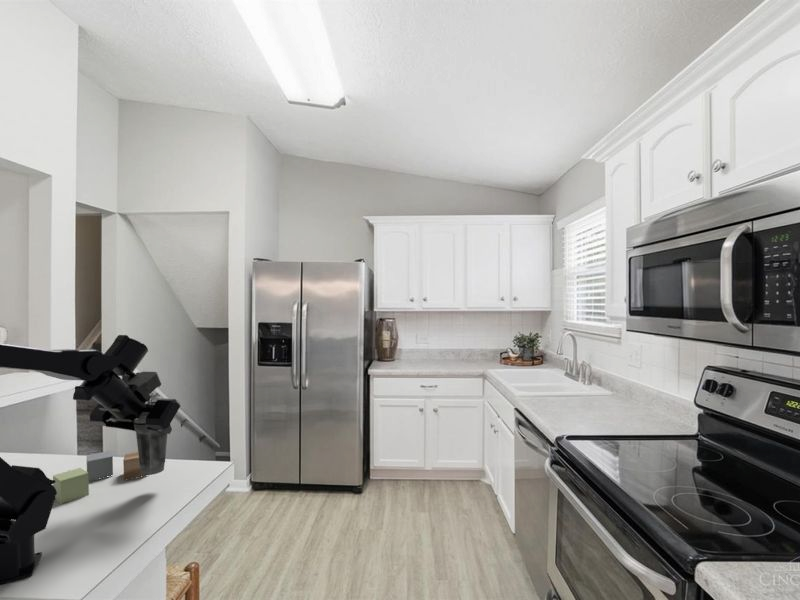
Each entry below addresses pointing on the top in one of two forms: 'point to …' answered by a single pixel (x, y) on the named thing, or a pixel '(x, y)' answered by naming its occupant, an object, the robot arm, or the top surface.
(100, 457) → the charcoal block
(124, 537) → the top surface
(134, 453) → the walnut block
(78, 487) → the olive block
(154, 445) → the beverage cup
